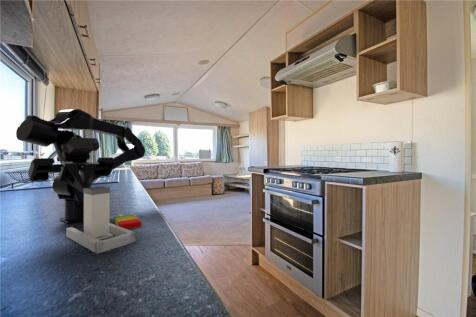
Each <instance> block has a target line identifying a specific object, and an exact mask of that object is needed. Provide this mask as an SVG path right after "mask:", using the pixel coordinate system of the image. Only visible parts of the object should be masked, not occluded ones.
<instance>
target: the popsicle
mask: <svg viewBox="0 0 476 317" xmlns="http://www.w3.org/2000/svg"><path fill="white" fill-rule="evenodd" d="M113 222H114V223H115V225H117V226H119V227H122V228H125V229H127V230H131V229H134V228H135V229H136V227H137V228H140V227H142V220H140V219H139V218H138V217H137V216H136V215H135V214H130V215H123V214H122V213H120V214H118V216H115V217H113Z"/></svg>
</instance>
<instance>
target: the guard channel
mask: <svg viewBox="0 0 476 317" xmlns="http://www.w3.org/2000/svg"><path fill="white" fill-rule="evenodd" d="M65 233H66V234H65V235H66V238H69V239H70V240H72V241H74V242H76V243H77V244H79V245H80V246H82V247H84V248H86V249H88V250H89V251H91V252H93V253H95V254H97V255H98V254H101V253H104V252H108V251H111V250H113V249H117V248H120V247H124V246H126V245H127V246H128V245H130V244H133V243H136V242H137V232H135V231H132V230H131V229H125V228H122V227H119V226H117V225H116V224H113V223H112V222H109V234H108V235H104V236H100V237H96V238H94V237H92V236H90V235H88V234H86V233H84V231H81V230H79V229H77V228H75V227H73V226H70V227H66V229H65Z"/></svg>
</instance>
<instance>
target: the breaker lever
mask: <svg viewBox="0 0 476 317" xmlns="http://www.w3.org/2000/svg"><path fill="white" fill-rule="evenodd" d="M110 194H111V187H109V186H108V187H107V186H91V187H89V188H84V221H83V233H86V234H88V235H90V236H92V237H94V238H96V237H100V236H104V235H108V234H109V223H110Z"/></svg>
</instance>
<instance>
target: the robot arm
mask: <svg viewBox="0 0 476 317" xmlns="http://www.w3.org/2000/svg"><path fill="white" fill-rule="evenodd" d="M61 129H62V130H61ZM74 131H90V132H94V133H99V134H104V135H107V136H113V137H115V138H116V145H117V147H118V149H117V151H115V153H113V154H110V155H109V156H108V157H98V158H97V159H96V161H88V160H90V158H91V155H90V153H92V152H97V151H98V150H99V149H100V141H99V140H98V139H97V138H95V137H82V136H81V135H79V134H77V133H75V132H74ZM15 135H16V139H17V140H19V141H22V142H25V143H29V144H32V145H37V146H40V147H45V148H47V147H49V146H51V145H53V147H54V150H55V152H56V155H57V157H56V160H57V162H59V164H58V163H57V164H55V158H53V157H50V158H49V157H47V158H45V157H44V158H43V157H42V158H41V157H40V158H36V157H35V158H33V159H31V162H30V165H29V168H28V171H27V172H28V173H27V175H28V179H29V181H31V182H44V181H47V180H48V179H49V178H50V175H49V174H57V175H58V176H57V177H55V178H54V179H53V182H52V190H53V192H54V193H55V194H56V195H57V199H59V200H64V217H59V220H60V221H61V222H64V223H66V224H72V223H73V224H74V223H78V222H82V221H83V222H84V188H89V187H92V186H93V184H94V182H95V181H97V180H98V179H99V178H101V177H108V176H111V174H112V171H113V170H115V169H116V168H118V167H120V166H122V165H124V164H126V163H127V162H131V161H132V162H133V161H136V160H140V159H142V158H143V157H144V156H145V153H146V148H145V146H144V144H143V143H142V141H141V139H140V138H138V137H137V135H136V134H135V133H133V131H132V129H131V128H130V127H128V126H123V125H119V124H115V123H113V122H109V121H105V120H101V119H98V118H96V117H94V116H92V114H90V113H88V112H86V111H84V110H82V109H80V108H79V109H78V108H73V109H72V108H71V109H60V110H59V111H57V113H56V114H55V116H54V117H52V118H51V119H50V120H45V119H42V118H41V117H39V116H37V115H34V114H30V115H29V114H28V115H26V118H25V119H24V120H23V121H22V122H21V123H20V125H19V126H18V127H17V128H16V133H15ZM125 139H126V141H128V143H127V142H126V141H125Z"/></svg>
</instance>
